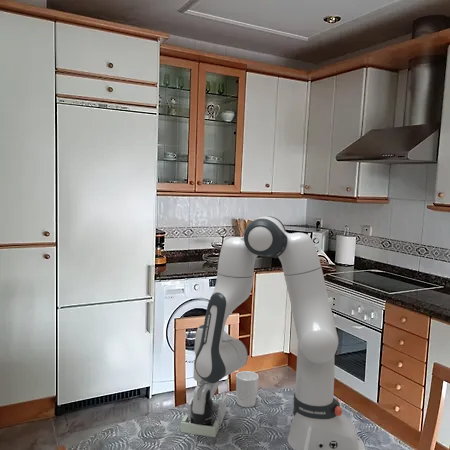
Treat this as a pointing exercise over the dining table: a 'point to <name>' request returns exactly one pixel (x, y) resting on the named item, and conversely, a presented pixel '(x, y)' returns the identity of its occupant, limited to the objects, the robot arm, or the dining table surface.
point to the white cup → (246, 388)
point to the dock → (199, 428)
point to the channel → (220, 409)
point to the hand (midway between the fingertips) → (205, 413)
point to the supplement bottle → (208, 413)
